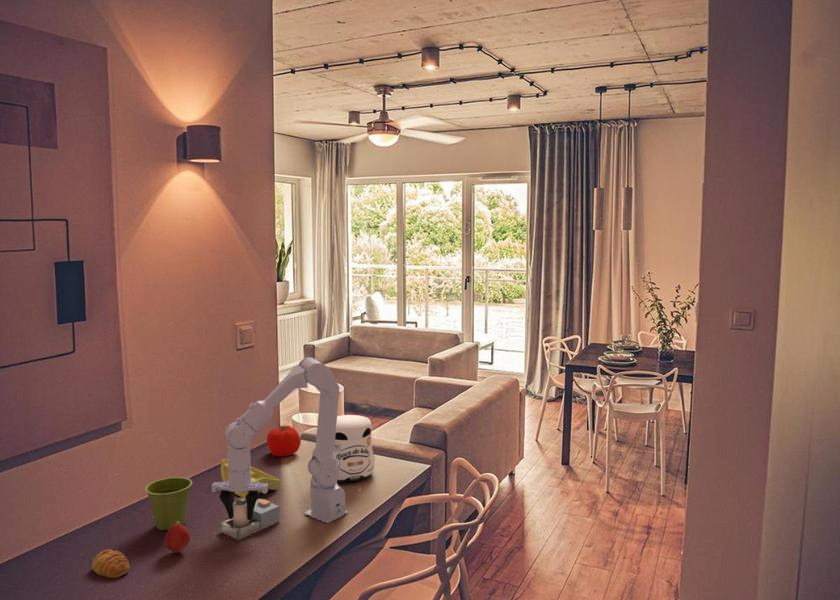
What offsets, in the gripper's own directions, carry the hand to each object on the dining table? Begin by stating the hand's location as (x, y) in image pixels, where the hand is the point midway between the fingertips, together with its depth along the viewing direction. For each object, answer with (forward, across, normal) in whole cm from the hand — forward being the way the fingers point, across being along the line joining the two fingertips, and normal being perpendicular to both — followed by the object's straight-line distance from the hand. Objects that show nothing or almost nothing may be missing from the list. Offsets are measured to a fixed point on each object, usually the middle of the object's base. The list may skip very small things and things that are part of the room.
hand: (241, 517), depth 167 cm
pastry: (+4, +24, +20) cm, 32 cm away
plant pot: (+4, +20, -2) cm, 21 cm away
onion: (+4, +12, +12) cm, 17 cm away
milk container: (+4, -22, -39) cm, 45 cm away
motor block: (+4, -4, -5) cm, 7 cm away
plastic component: (+4, +8, -29) cm, 30 cm away
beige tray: (+4, 0, 0) cm, 4 cm away
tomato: (+4, +5, -57) cm, 57 cm away
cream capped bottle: (+2, 0, 0) cm, 2 cm away
